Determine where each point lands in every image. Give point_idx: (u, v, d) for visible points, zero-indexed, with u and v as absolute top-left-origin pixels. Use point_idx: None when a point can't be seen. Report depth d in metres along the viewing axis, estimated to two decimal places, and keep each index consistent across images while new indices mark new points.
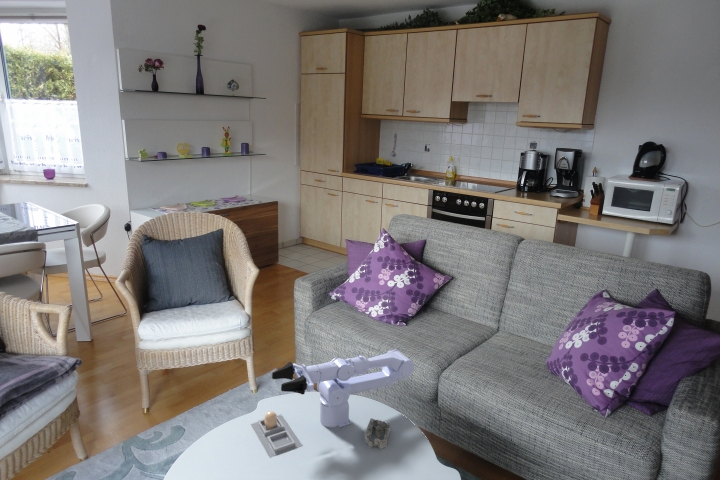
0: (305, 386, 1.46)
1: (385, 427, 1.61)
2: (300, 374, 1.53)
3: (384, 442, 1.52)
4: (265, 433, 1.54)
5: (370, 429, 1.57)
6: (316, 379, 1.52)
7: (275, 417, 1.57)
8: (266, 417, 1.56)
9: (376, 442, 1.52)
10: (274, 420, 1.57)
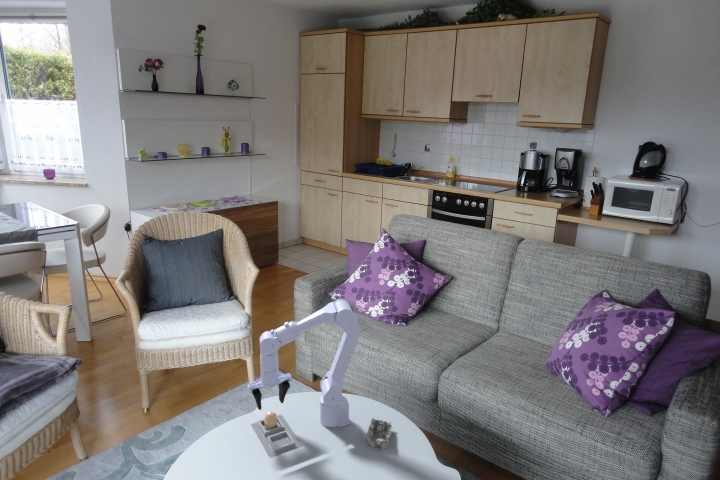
0: None
1: (386, 427, 1.61)
2: None
3: (386, 442, 1.52)
4: (265, 433, 1.54)
5: (372, 429, 1.57)
6: (261, 374, 1.52)
7: (275, 417, 1.57)
8: (266, 417, 1.56)
9: (378, 442, 1.52)
10: (274, 420, 1.57)
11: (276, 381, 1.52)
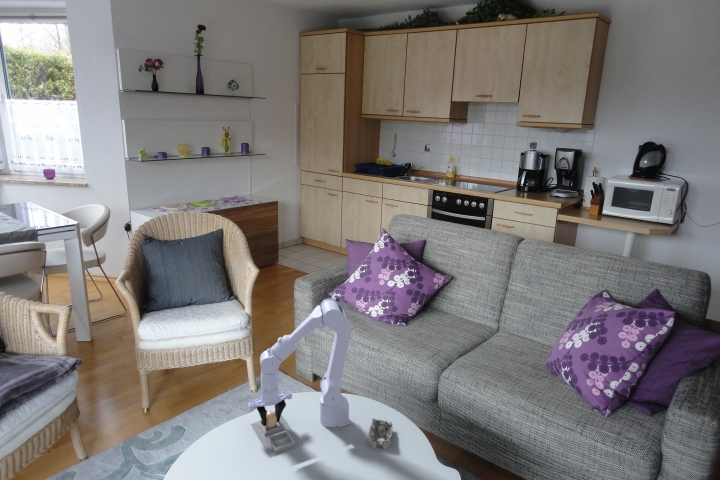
0: (256, 407, 1.54)
1: (387, 427, 1.61)
2: None
3: (388, 442, 1.52)
4: (265, 433, 1.54)
5: (373, 429, 1.57)
6: (261, 392, 1.53)
7: (275, 417, 1.57)
8: (266, 417, 1.56)
9: (380, 442, 1.52)
10: (274, 420, 1.57)
11: (276, 399, 1.54)
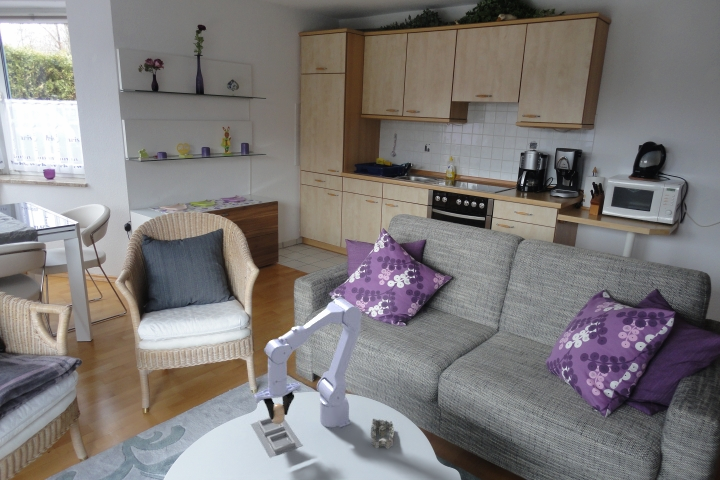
0: (263, 399, 1.47)
1: (387, 426, 1.61)
2: None
3: (390, 441, 1.52)
4: (265, 433, 1.54)
5: (374, 430, 1.57)
6: (269, 383, 1.46)
7: (283, 410, 1.49)
8: (273, 410, 1.48)
9: (383, 442, 1.52)
10: (282, 413, 1.49)
11: (284, 391, 1.46)
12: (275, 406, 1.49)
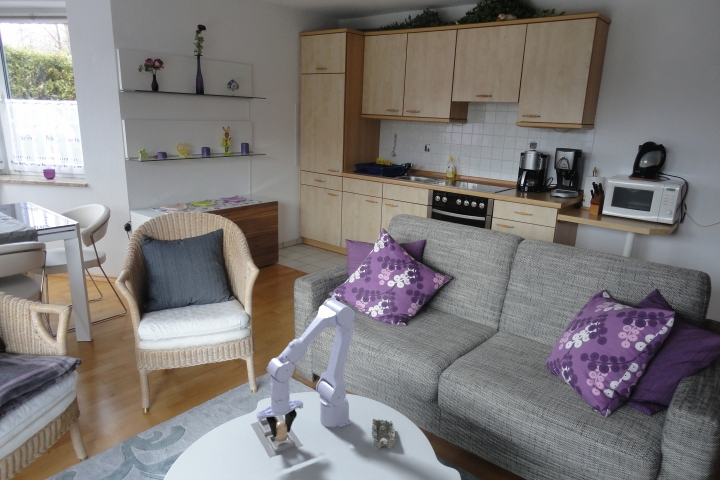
0: (266, 417, 1.46)
1: (387, 426, 1.62)
2: None
3: (392, 441, 1.52)
4: (265, 433, 1.54)
5: (375, 430, 1.57)
6: (271, 401, 1.45)
7: (285, 427, 1.49)
8: (276, 428, 1.48)
9: (385, 442, 1.52)
10: (284, 431, 1.49)
11: (287, 409, 1.46)
12: (278, 424, 1.49)
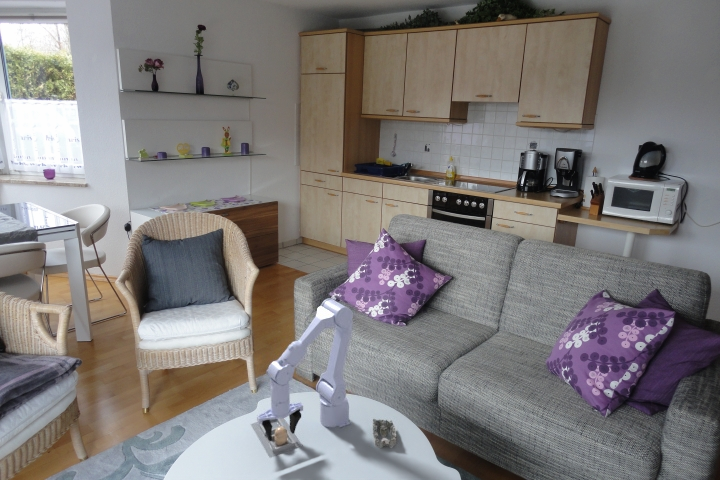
0: None
1: (387, 425, 1.62)
2: None
3: (394, 440, 1.53)
4: (265, 433, 1.54)
5: (376, 430, 1.57)
6: (271, 404, 1.46)
7: (285, 433, 1.50)
8: (276, 433, 1.49)
9: (386, 442, 1.52)
10: (284, 436, 1.49)
11: (287, 412, 1.47)
12: (278, 429, 1.49)
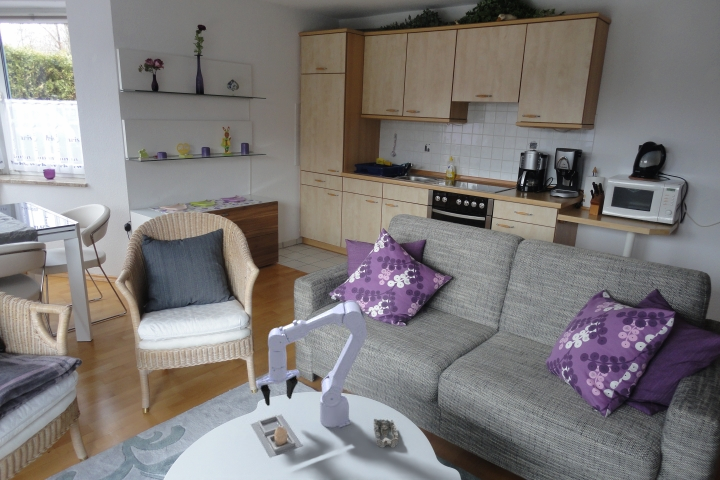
0: None
1: (388, 425, 1.62)
2: None
3: (395, 440, 1.53)
4: (265, 433, 1.54)
5: (377, 430, 1.57)
6: (269, 370, 1.54)
7: (285, 433, 1.50)
8: (276, 433, 1.49)
9: (388, 441, 1.52)
10: (284, 436, 1.49)
11: (284, 377, 1.55)
12: (278, 429, 1.49)
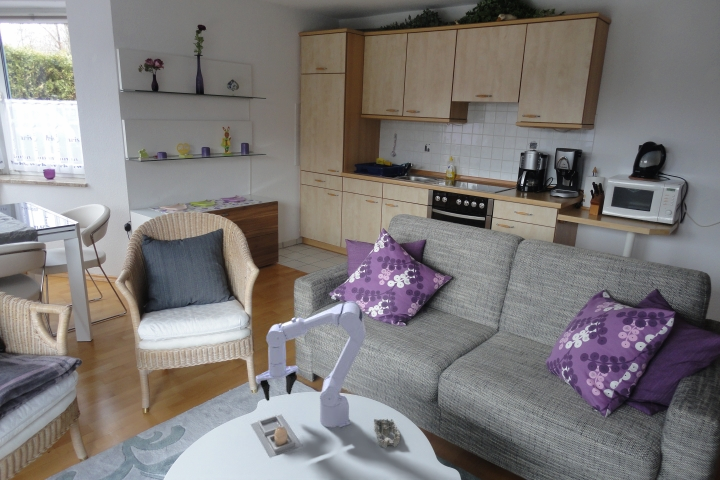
0: None
1: (388, 425, 1.62)
2: None
3: (397, 439, 1.53)
4: (265, 433, 1.54)
5: (378, 430, 1.57)
6: (269, 366, 1.56)
7: (285, 433, 1.50)
8: (276, 433, 1.49)
9: (390, 441, 1.52)
10: (284, 436, 1.49)
11: (284, 373, 1.57)
12: (278, 429, 1.49)
